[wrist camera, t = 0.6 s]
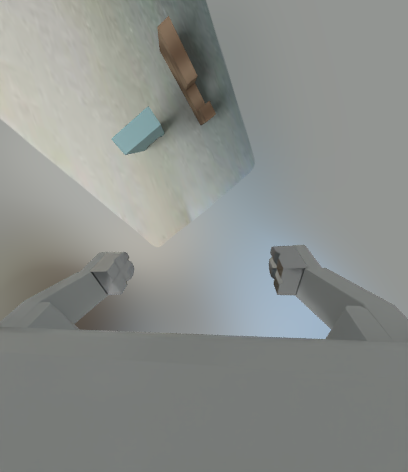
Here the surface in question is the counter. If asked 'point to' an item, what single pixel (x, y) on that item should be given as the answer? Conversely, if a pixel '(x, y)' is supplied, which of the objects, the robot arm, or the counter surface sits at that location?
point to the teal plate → (139, 133)
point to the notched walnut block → (183, 70)
